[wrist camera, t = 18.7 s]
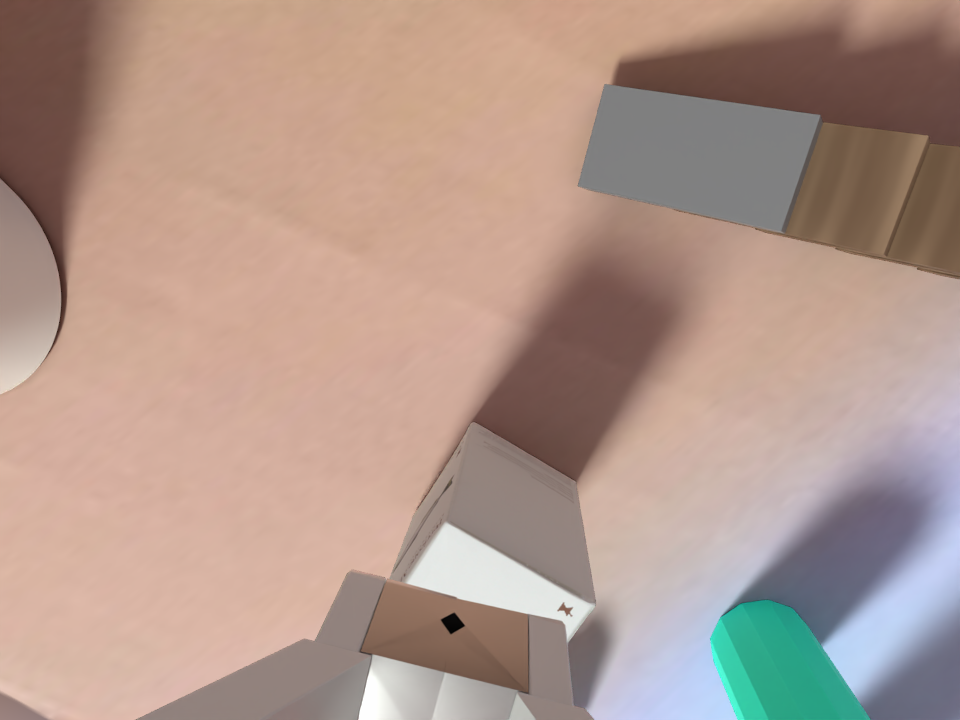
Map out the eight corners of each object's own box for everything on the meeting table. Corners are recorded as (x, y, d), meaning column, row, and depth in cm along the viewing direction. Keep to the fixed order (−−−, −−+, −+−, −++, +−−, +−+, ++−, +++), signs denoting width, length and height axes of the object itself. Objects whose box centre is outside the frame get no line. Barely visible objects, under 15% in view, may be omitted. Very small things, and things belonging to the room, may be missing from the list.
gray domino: (577, 186, 34) (780, 231, 30) (604, 84, 33) (820, 115, 29) (588, 190, 36) (785, 233, 31) (615, 92, 34) (822, 123, 30)
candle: (831, 633, 41) (955, 807, 29) (767, 702, 42) (861, 894, 30) (751, 581, 40) (845, 735, 28) (689, 652, 41) (754, 828, 30)
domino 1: (667, 207, 34) (883, 254, 29) (697, 106, 33) (928, 135, 28) (678, 211, 36) (887, 257, 30) (708, 113, 34) (930, 143, 29)
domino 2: (754, 229, 34) (982, 277, 28) (788, 128, 33) (1034, 154, 27) (767, 233, 36) (989, 280, 29) (800, 136, 34) (1039, 162, 28)
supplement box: (471, 416, 39) (447, 514, 27) (579, 481, 39) (604, 607, 27) (408, 514, 41) (358, 649, 28) (512, 575, 41) (507, 735, 29)
